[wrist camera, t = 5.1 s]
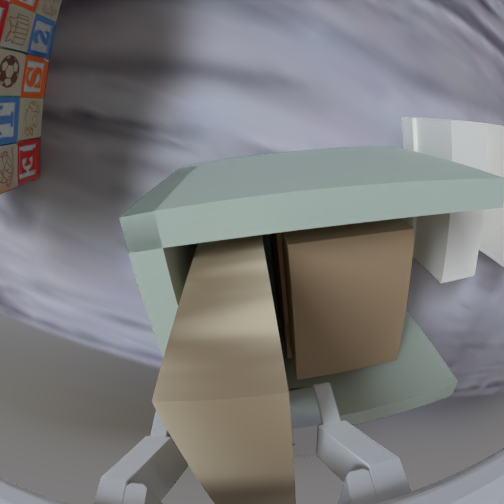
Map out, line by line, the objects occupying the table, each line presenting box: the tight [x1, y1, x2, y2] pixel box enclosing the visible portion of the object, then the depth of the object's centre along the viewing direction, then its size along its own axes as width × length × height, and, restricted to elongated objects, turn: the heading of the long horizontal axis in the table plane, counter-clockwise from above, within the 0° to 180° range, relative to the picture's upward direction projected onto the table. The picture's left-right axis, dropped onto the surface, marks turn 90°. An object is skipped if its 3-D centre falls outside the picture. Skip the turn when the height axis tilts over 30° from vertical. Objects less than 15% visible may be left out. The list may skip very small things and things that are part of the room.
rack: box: [119, 146, 504, 425], centre depth 16 cm, size 14×12×11 cm
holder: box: [401, 117, 504, 283], centre depth 18 cm, size 10×10×6 cm
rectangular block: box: [152, 235, 296, 504], centre depth 13 cm, size 2×8×15 cm, turn 7°
